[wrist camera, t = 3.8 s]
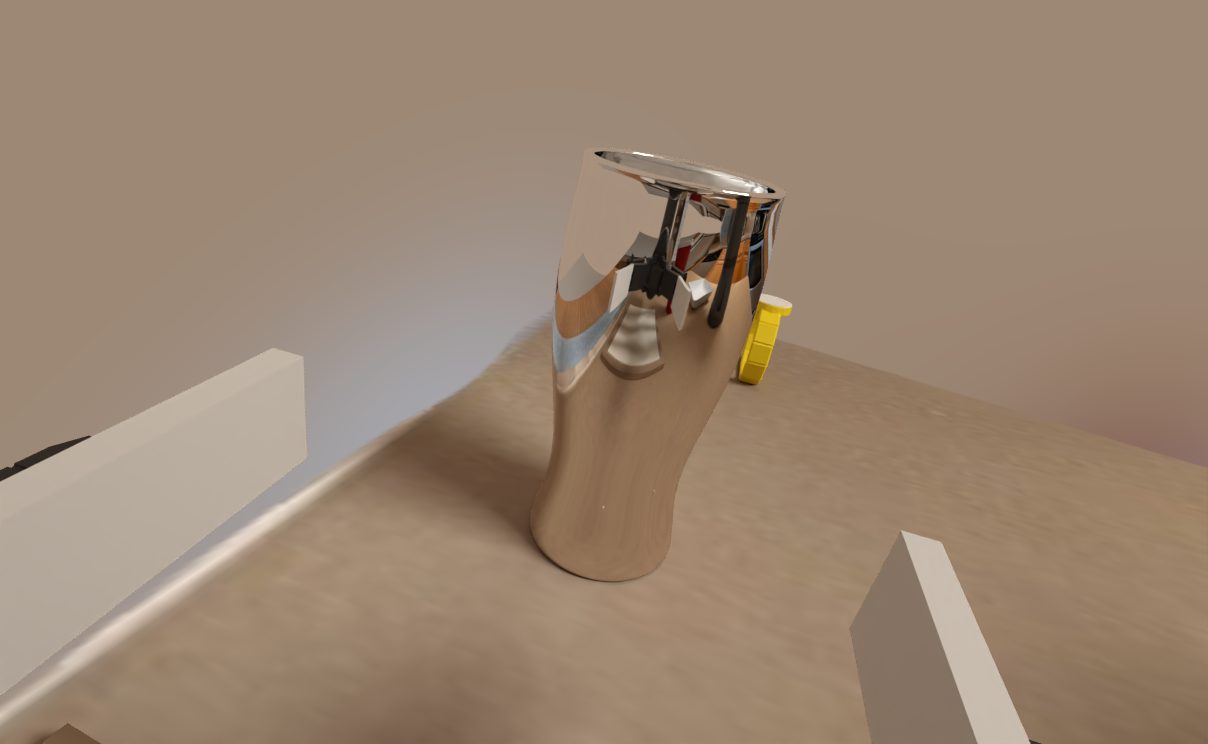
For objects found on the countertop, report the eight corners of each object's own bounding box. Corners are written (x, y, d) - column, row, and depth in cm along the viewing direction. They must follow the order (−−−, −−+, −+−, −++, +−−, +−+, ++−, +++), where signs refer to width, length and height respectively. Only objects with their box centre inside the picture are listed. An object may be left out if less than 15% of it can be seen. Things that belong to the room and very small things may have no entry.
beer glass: (490, 500, 26) (536, 136, 19) (615, 465, 30) (689, 156, 23) (576, 618, 21) (677, 189, 14) (712, 558, 25) (838, 202, 19)
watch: (730, 359, 46) (752, 286, 44) (765, 369, 46) (789, 295, 44) (727, 385, 41) (753, 303, 38) (768, 396, 40) (795, 314, 38)
